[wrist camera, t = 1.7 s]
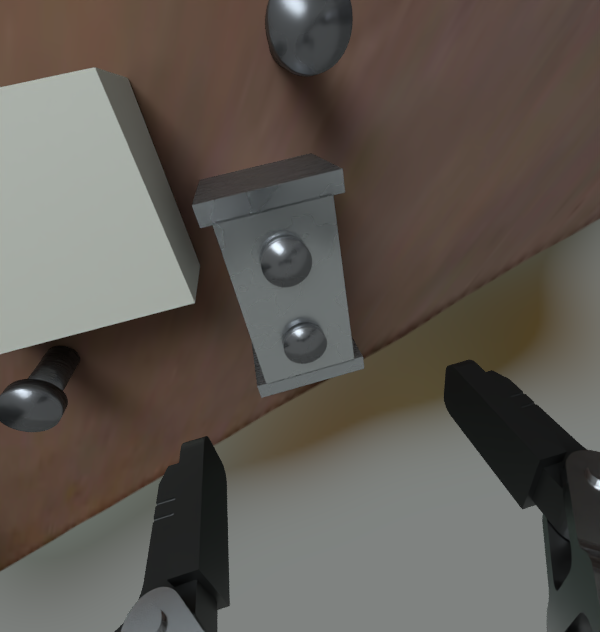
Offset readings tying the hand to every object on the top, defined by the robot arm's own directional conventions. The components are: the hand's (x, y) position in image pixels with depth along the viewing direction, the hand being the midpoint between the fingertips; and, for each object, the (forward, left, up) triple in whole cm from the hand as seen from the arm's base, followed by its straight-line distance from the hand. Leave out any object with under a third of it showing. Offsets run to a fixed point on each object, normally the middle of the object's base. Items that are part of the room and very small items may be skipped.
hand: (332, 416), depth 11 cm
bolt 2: (-3, -11, -14) cm, 18 cm away
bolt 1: (+16, +3, -14) cm, 21 cm away
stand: (+11, -6, -14) cm, 19 cm away
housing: (0, 0, -14) cm, 14 cm away
